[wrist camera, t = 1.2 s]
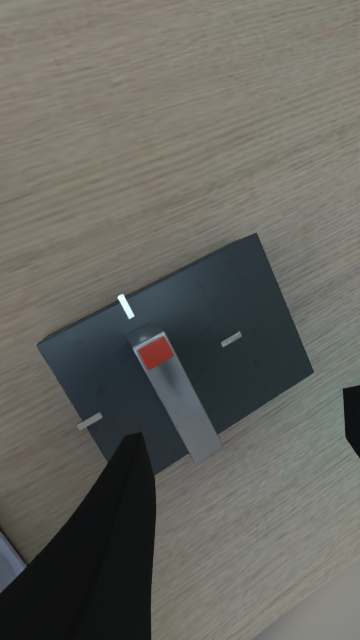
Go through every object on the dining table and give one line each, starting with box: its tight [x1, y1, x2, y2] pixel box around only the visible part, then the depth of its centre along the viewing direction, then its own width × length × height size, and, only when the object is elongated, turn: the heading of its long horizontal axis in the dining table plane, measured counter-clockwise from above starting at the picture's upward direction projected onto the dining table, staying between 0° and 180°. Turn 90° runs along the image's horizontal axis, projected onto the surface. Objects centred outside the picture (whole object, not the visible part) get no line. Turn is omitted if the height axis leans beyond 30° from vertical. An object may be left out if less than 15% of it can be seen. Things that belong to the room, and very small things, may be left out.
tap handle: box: [126, 323, 223, 465], centre depth 15 cm, size 6×2×4 cm, turn 27°
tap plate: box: [37, 233, 314, 475], centre depth 19 cm, size 14×11×3 cm
